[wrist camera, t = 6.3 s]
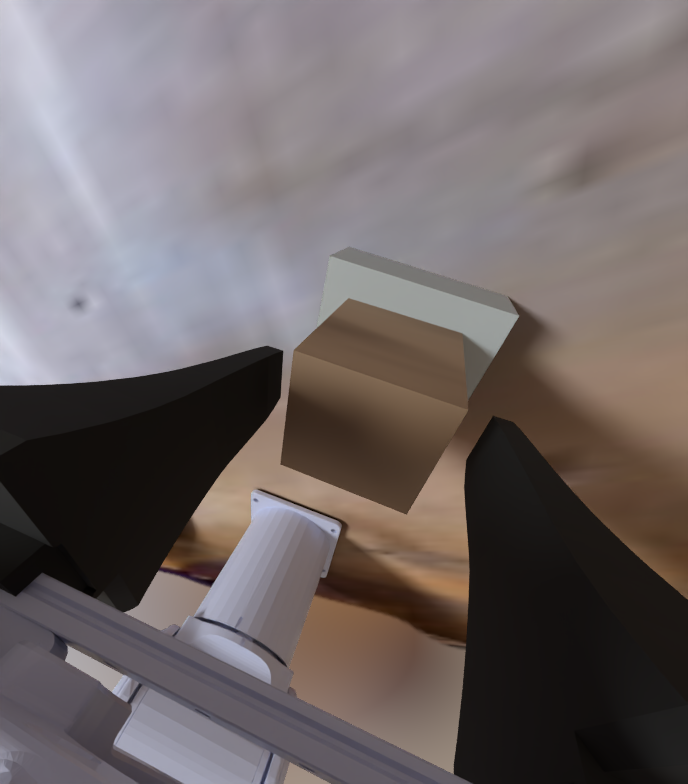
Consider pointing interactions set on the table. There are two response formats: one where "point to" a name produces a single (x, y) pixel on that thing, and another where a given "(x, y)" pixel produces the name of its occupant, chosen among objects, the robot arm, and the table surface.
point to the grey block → (423, 303)
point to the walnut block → (374, 402)
